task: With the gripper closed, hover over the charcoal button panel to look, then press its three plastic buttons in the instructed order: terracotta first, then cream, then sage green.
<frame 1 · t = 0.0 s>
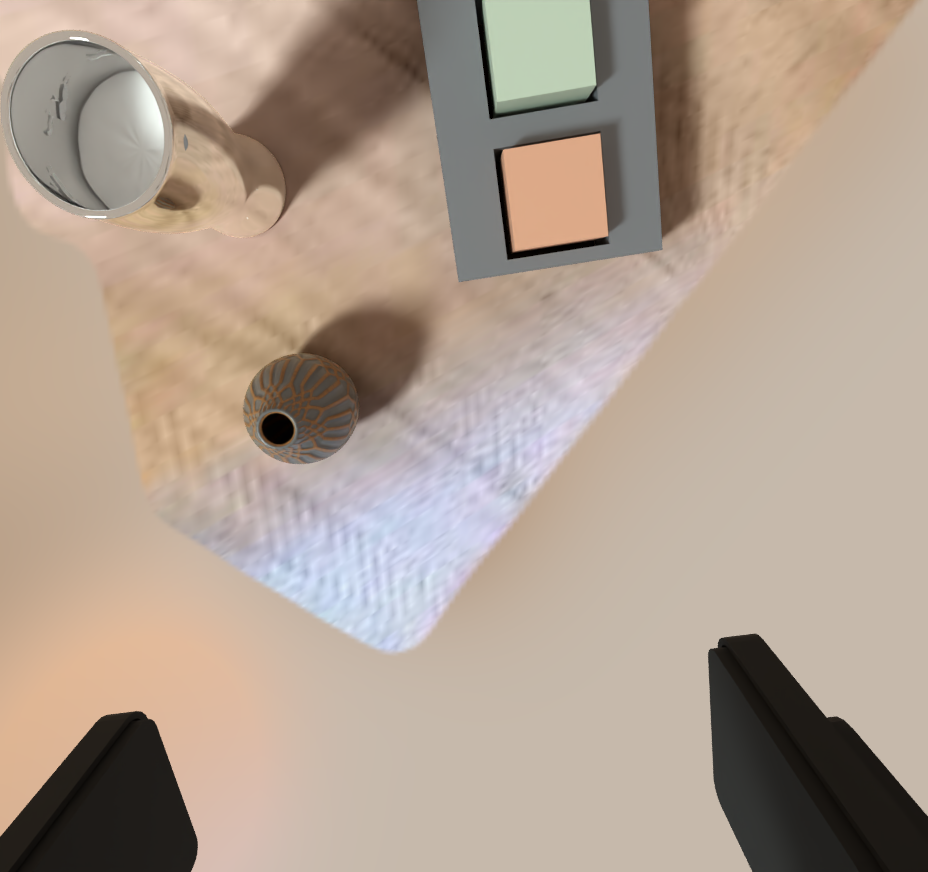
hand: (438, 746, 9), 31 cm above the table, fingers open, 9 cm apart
button panel: (529, 74, 34), on the table
vase: (318, 396, 40), on the table
terracotta button: (551, 198, 33), point 3 cm above the table, slide at 0.0 cm
beer glass: (240, 188, 36), on the table
sage button: (536, 51, 31), point 3 cm above the table, slide at 0.0 cm
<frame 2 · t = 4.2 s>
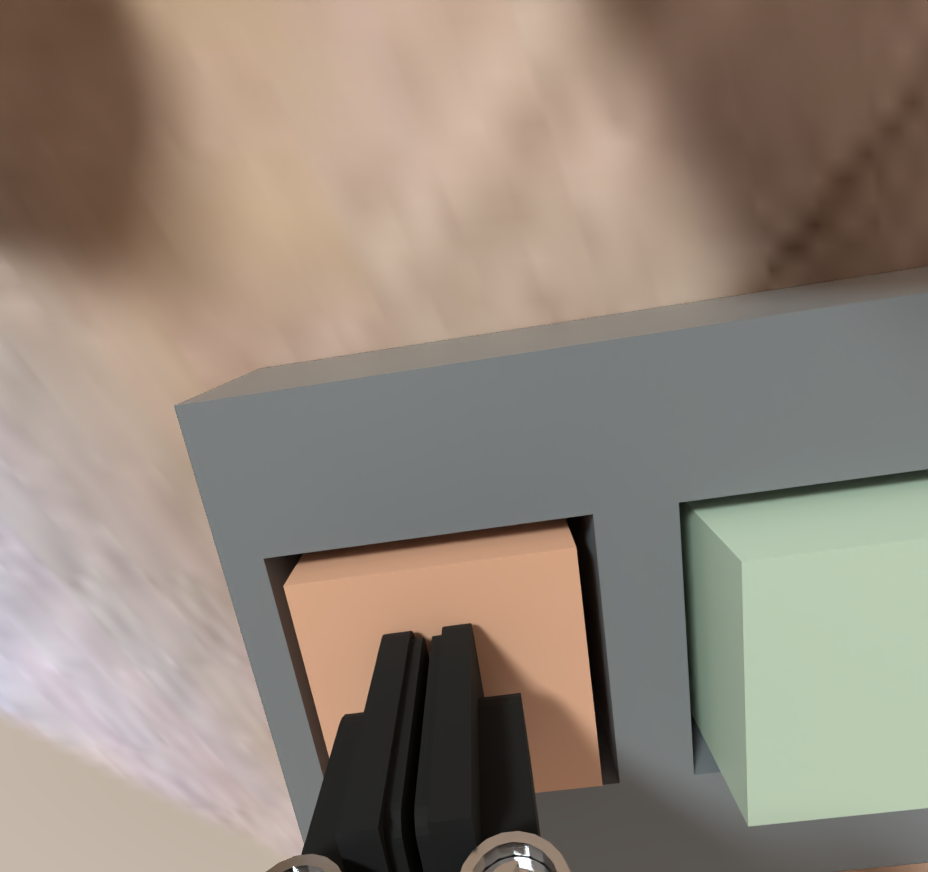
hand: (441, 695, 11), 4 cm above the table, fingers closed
button panel: (749, 535, 14), on the table
terracotta button: (454, 627, 13), point 2 cm above the table, slide at 1.1 cm, touching gripper
sage button: (833, 613, 11), point 3 cm above the table, slide at 0.0 cm
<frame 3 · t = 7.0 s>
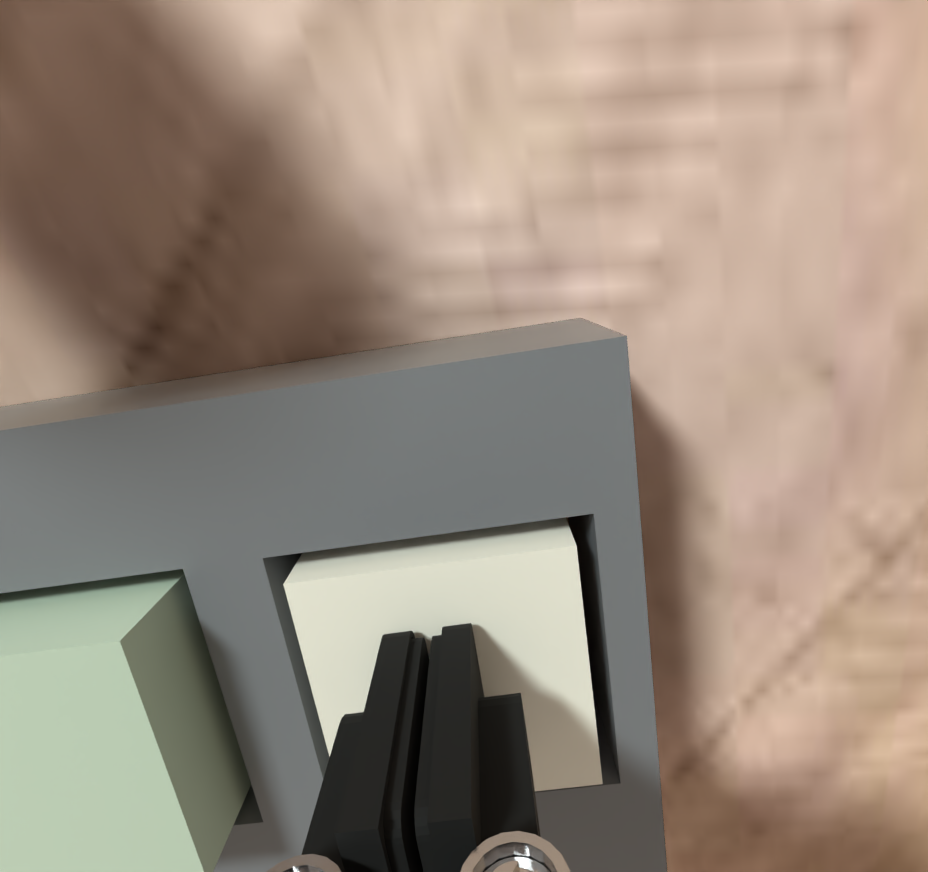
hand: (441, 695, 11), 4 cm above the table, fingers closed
button panel: (180, 608, 15), on the table
cream button: (454, 625, 13), point 2 cm above the table, slide at 1.2 cm, touching gripper
sage button: (96, 703, 12), point 3 cm above the table, slide at 0.0 cm
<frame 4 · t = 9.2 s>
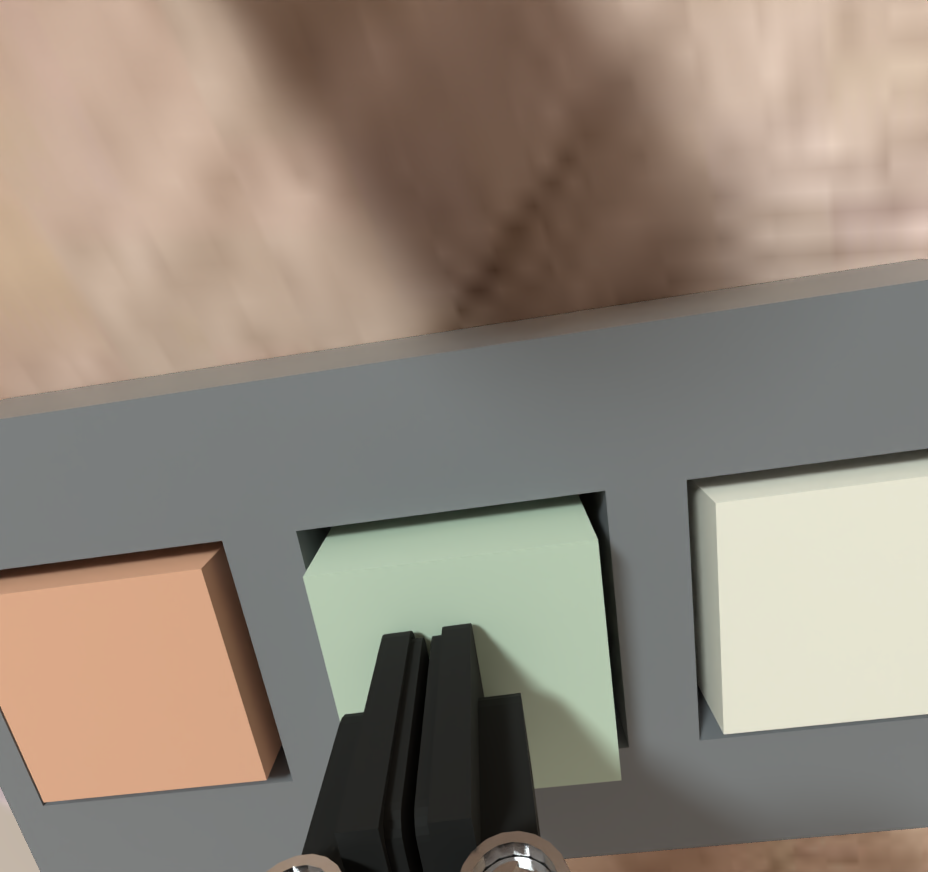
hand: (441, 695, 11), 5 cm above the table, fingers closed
button panel: (473, 552, 16), on the table
cream button: (801, 559, 13), point 2 cm above the table, slide at 1.2 cm
terracotta button: (167, 635, 14), point 2 cm above the table, slide at 1.2 cm
sage button: (471, 620, 13), point 3 cm above the table, slide at 0.4 cm, touching gripper
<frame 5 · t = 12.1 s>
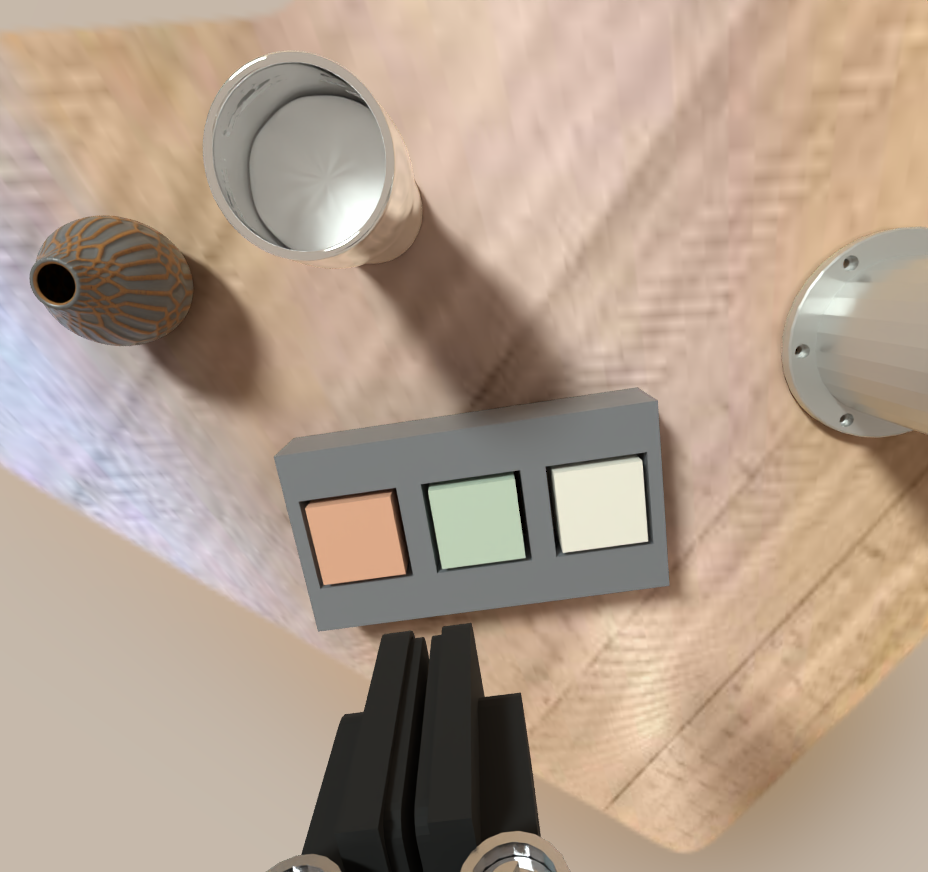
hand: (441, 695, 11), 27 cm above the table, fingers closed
button panel: (476, 498, 39), on the table
cream button: (594, 495, 36), point 2 cm above the table, slide at 1.2 cm
vase: (156, 282, 35), on the table
terracotta button: (362, 528, 37), point 2 cm above the table, slide at 1.2 cm
beer glass: (372, 210, 34), on the table
sage button: (477, 512, 36), point 2 cm above the table, slide at 1.2 cm
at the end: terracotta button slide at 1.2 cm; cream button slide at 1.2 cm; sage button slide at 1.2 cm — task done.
